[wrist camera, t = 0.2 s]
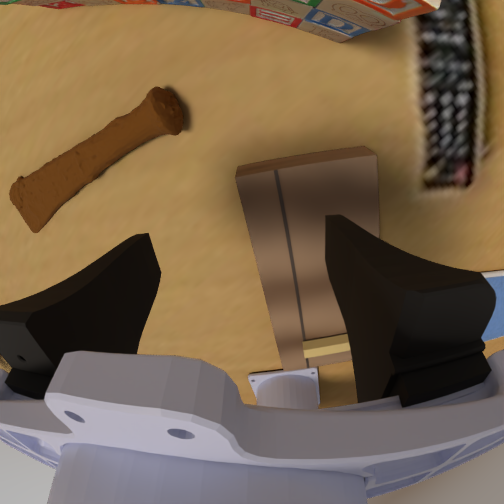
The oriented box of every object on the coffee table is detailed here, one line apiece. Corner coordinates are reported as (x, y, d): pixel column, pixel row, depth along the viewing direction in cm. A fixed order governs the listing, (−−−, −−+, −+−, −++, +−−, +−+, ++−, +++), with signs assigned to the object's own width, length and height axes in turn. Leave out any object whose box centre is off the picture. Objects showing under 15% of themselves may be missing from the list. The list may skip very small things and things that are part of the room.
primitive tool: (36, 232, 24) (17, 251, 21) (9, 189, 21) (-13, 204, 18) (195, 125, 19) (183, 133, 16) (159, 61, 16) (141, 58, 13)
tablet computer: (540, 262, 24) (545, 268, 23) (505, 331, 31) (508, 337, 30) (438, 271, 25) (444, 279, 24) (405, 352, 32) (408, 360, 31)
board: (365, 338, 29) (370, 356, 27) (282, 352, 31) (283, 371, 28) (364, 146, 19) (376, 155, 17) (237, 166, 20) (235, 177, 18)
